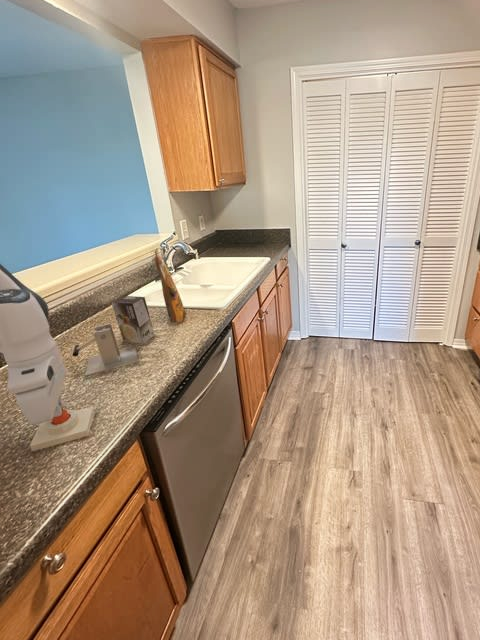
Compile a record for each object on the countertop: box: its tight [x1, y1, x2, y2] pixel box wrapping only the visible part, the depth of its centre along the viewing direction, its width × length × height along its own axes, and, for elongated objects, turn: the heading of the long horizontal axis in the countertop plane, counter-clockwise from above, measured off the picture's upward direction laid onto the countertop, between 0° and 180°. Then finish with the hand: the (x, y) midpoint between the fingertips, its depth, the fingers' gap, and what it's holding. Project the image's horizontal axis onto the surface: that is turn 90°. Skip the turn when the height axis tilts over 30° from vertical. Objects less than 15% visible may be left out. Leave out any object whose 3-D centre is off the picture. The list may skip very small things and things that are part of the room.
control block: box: [29, 406, 96, 452], centre depth 77 cm, size 11×9×4 cm
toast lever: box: [72, 327, 107, 358], centre depth 98 cm, size 11×5×2 cm, turn 117°
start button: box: [52, 408, 69, 425], centre depth 76 cm, size 3×3×2 cm
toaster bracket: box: [85, 322, 138, 377], centre depth 101 cm, size 14×11×13 cm
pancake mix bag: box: [154, 248, 185, 324], centre depth 129 cm, size 7×19×28 cm, turn 16°
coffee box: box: [111, 295, 155, 344], centre depth 114 cm, size 9×6×16 cm
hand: (58, 412), depth 75 cm, fingers closed
